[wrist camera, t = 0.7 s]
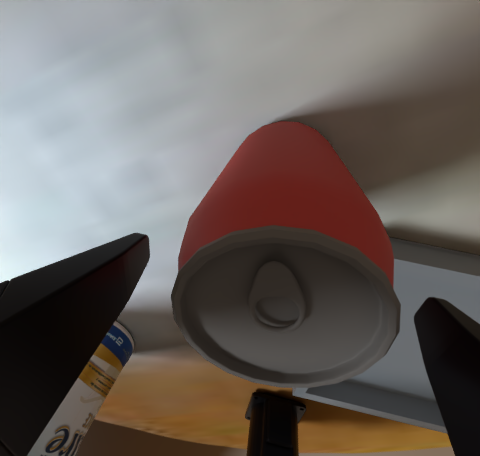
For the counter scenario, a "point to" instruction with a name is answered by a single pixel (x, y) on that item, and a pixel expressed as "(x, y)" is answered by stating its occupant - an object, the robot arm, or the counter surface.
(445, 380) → the robot arm
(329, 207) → the beer can
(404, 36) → the counter surface
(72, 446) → the beverage bottle
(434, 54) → the counter surface
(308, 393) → the tray
